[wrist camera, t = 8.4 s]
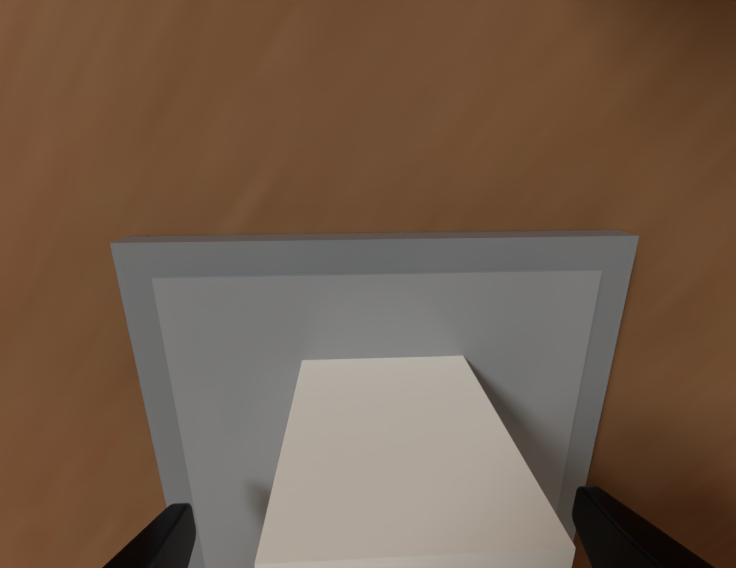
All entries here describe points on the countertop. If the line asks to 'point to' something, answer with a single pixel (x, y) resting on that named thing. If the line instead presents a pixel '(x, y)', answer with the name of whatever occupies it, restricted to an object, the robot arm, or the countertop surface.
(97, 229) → the countertop surface
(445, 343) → the plate
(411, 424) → the connector
